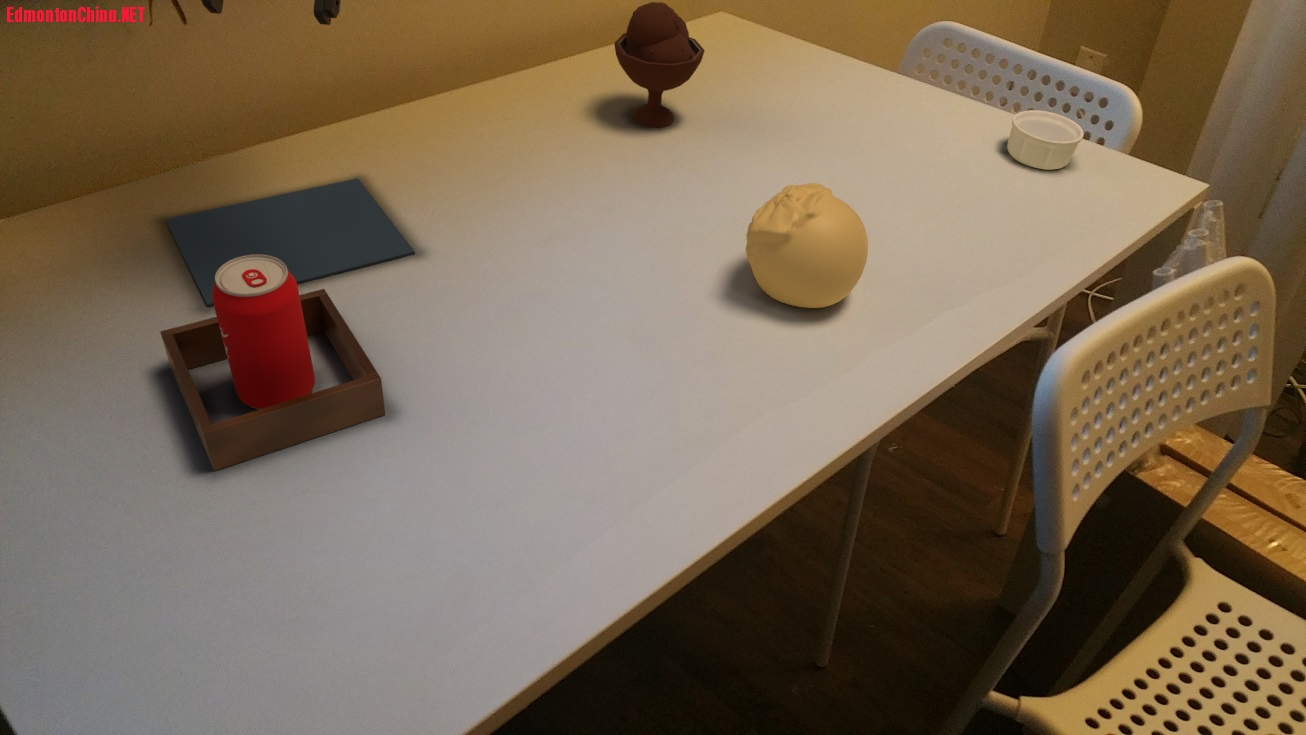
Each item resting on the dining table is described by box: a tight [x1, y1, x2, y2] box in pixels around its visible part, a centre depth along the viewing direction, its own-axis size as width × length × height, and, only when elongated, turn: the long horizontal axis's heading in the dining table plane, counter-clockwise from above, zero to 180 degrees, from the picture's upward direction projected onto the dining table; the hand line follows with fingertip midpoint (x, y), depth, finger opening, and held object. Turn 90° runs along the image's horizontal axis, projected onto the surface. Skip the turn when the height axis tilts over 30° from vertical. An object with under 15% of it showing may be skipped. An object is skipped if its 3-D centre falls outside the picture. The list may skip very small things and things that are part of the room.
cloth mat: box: [165, 177, 416, 308], centre depth 99 cm, size 20×16×1 cm
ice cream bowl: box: [613, 1, 706, 128], centre depth 122 cm, size 11×11×15 cm
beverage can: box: [212, 254, 316, 410], centre depth 78 cm, size 6×6×12 cm
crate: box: [160, 288, 386, 472], centre depth 81 cm, size 14×14×4 cm
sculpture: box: [745, 182, 869, 309], centre depth 97 cm, size 12×12×11 cm
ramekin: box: [1006, 109, 1085, 171], centre depth 127 cm, size 9×9×4 cm
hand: (266, 15), depth 76 cm, fingers open, 8 cm apart
